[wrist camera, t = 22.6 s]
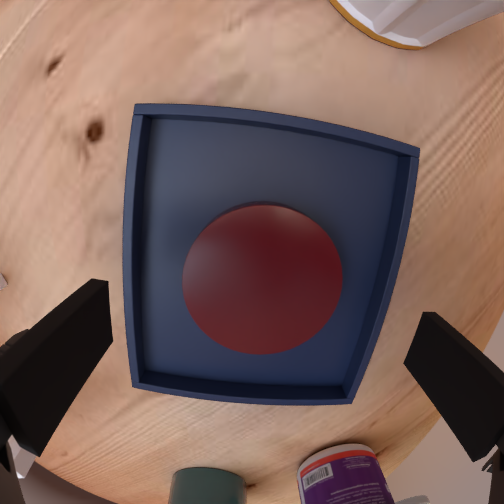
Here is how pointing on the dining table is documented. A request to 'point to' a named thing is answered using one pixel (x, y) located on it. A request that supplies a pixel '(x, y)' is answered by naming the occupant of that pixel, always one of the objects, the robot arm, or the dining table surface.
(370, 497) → the pill bottle
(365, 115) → the dining table surface
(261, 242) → the lid
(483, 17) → the cup
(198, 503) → the jar
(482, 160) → the dining table surface
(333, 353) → the tray
